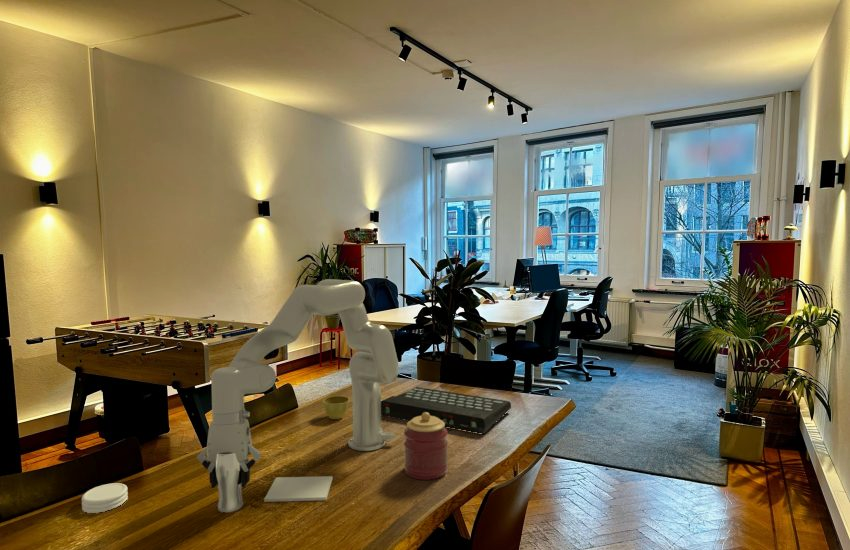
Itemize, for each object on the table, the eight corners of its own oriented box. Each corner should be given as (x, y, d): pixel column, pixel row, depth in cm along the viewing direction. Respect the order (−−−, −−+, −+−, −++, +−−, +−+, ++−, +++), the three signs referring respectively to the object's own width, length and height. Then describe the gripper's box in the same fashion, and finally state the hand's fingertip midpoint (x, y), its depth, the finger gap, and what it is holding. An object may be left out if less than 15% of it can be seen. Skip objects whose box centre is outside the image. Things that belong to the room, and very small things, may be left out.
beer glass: (234, 515, 121) (233, 455, 121) (209, 512, 123) (208, 453, 122) (250, 501, 128) (249, 444, 127) (226, 498, 130) (225, 442, 129)
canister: (452, 479, 140) (452, 418, 139) (407, 482, 138) (406, 421, 137) (442, 460, 153) (442, 404, 152) (401, 463, 151) (401, 406, 150)
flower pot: (353, 418, 191) (353, 400, 190) (329, 424, 185) (329, 405, 185) (342, 411, 199) (342, 394, 199) (319, 416, 193) (319, 398, 193)
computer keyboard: (511, 414, 197) (511, 397, 197) (484, 437, 173) (484, 418, 173) (414, 398, 219) (414, 383, 219) (379, 416, 195) (379, 400, 194)
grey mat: (332, 478, 140) (332, 476, 140) (326, 500, 128) (326, 497, 128) (276, 480, 140) (276, 477, 140) (264, 501, 128) (264, 498, 128)
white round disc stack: (77, 518, 120) (76, 504, 120) (87, 499, 130) (86, 486, 129) (124, 509, 124) (124, 496, 124) (130, 492, 134) (130, 479, 133)
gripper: (267, 411, 128) (268, 477, 129) (199, 412, 128) (201, 479, 129) (258, 421, 121) (260, 491, 122) (187, 422, 120) (188, 493, 121)
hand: (230, 484), depth 125 cm, fingers open, 6 cm apart
